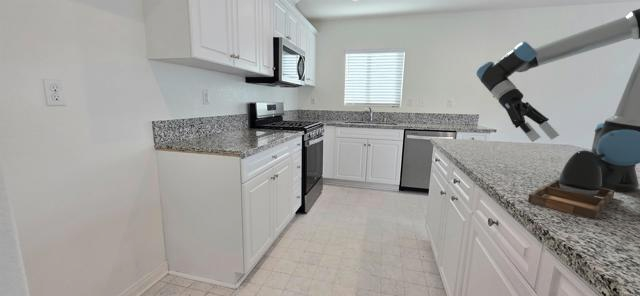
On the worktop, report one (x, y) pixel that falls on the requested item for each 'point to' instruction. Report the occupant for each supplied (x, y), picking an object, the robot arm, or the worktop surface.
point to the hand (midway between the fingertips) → (546, 138)
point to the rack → (571, 200)
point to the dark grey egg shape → (582, 173)
